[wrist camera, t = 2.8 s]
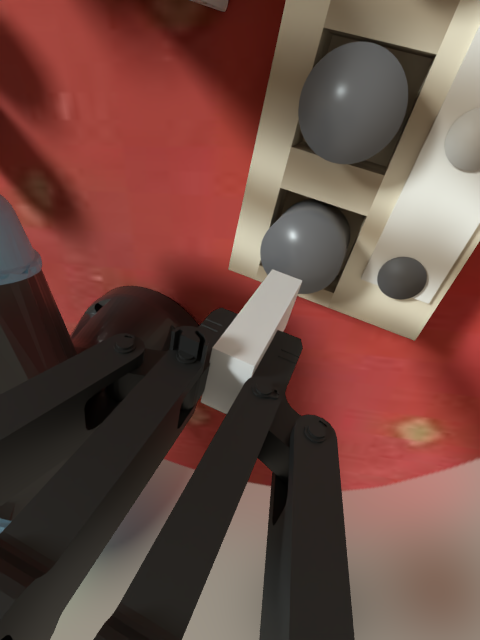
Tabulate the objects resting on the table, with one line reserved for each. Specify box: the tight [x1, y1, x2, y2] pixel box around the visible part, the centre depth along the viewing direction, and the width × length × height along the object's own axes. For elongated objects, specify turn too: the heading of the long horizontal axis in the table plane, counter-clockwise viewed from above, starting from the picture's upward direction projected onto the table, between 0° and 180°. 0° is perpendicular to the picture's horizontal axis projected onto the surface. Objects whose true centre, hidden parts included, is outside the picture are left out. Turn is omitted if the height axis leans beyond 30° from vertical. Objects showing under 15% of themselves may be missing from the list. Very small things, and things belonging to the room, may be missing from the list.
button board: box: [228, 0, 480, 341], centre depth 20 cm, size 24×14×4 cm, turn 167°
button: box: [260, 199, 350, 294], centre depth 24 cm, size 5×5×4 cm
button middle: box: [298, 42, 408, 164], centre depth 19 cm, size 5×5×4 cm
